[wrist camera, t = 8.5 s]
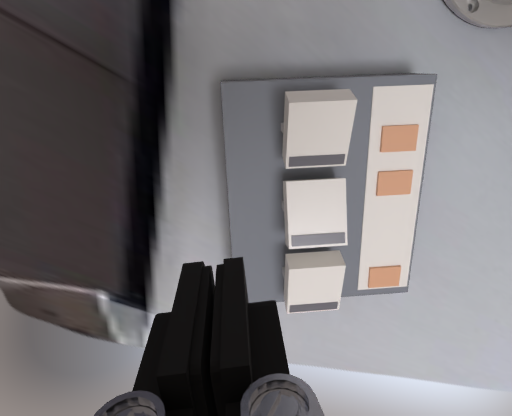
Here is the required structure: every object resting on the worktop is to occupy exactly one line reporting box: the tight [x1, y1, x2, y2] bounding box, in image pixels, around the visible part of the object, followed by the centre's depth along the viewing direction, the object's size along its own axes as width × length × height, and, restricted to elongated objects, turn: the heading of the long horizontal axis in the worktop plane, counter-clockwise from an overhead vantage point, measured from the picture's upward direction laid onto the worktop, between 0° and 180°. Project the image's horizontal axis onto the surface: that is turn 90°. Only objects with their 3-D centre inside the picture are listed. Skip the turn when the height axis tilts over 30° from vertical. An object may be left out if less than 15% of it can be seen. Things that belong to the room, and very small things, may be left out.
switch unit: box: [221, 73, 437, 303], centre depth 31 cm, size 16×19×5 cm
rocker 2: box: [284, 250, 346, 314], centre depth 30 cm, size 4×5×2 cm
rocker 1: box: [282, 89, 357, 169], centre depth 25 cm, size 4×5×2 cm
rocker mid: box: [283, 178, 348, 249], centre depth 28 cm, size 4×5×2 cm
